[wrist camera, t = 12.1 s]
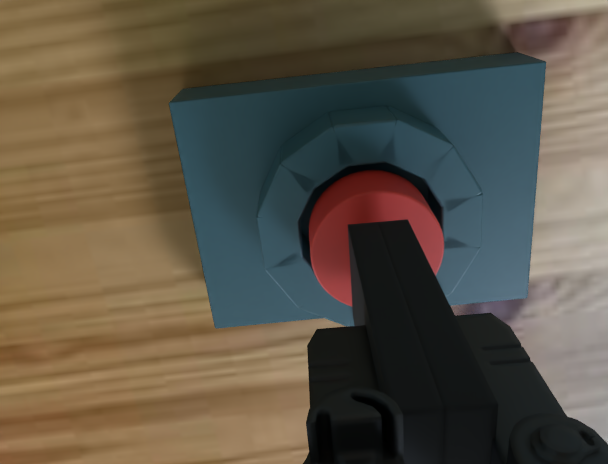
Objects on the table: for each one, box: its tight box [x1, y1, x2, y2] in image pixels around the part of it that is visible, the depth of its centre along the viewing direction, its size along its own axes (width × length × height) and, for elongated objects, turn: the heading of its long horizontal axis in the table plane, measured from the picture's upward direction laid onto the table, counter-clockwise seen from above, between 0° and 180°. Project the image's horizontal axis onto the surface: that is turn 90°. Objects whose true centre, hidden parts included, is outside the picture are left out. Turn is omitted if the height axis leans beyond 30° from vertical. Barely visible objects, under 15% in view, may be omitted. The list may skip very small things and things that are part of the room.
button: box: [309, 170, 444, 306], centre depth 15 cm, size 4×4×2 cm
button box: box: [169, 52, 546, 328], centre depth 18 cm, size 11×8×4 cm
